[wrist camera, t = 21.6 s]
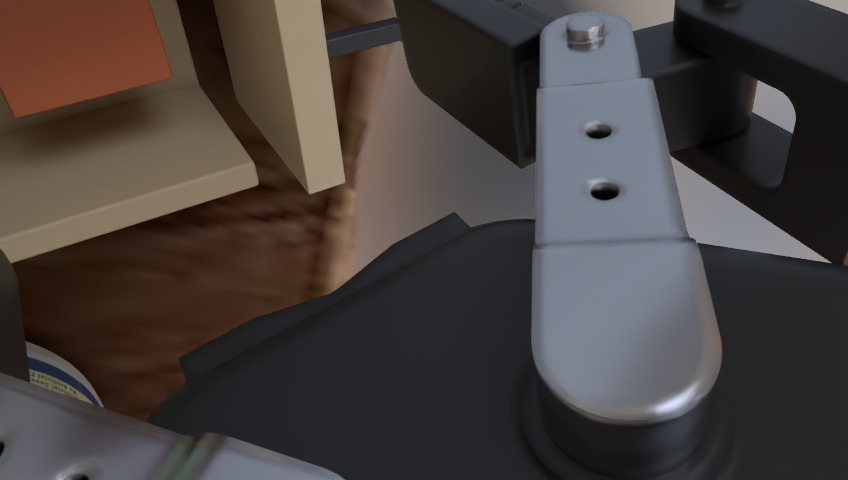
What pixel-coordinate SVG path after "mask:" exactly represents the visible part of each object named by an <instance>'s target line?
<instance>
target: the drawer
mask: <svg viewBox="0 0 848 480" xmlns="http://www.w3.org/2000/svg"><path fill="white" fill-rule="evenodd" d="M149 1H150V4H151V7H152V10H153V13H154V17H155V20H156V23H157V26H158V29H159V33H160V36H161V39H162V42H163V46H164V49H165V52H166V55H167V58H168V62H169V65H170V68H171V71H172V75H173V78H171V79H168V80H164V81H160V82H156V83H152V84H148V85H144V86H140V87H136V88H133V89H129V90H125V91H121V92H117V93H113V94H109V95H105V96H102V97H98V98H94V99H90V100H86V101H82V102H78V103H74V104H71V105H67V106H63V107H59V108H55V109H51V110H47V111H43V112H39V113H36V114H32V115H28V116H24V117H20V118H14V117H13V115H12V113H11V111H10V109H9V107H8V105H7V103H6V101H5V99H4V97H3V95H2V93H1V91H0V248H1V250H2V251H3V252H4V254H5V255H6V256H7V258H8V260H9V261H10V263H14V262H17V261H20V260H24V259H27V258H30V257H33V256H36V255H39V254H43V253H46V252H49V251H52V250H55V249H58V248H62V247H65V246H68V245H71V244H74V243H77V242H80V241H84V240H87V239H90V238H93V237H96V236H99V235H103V234H106V233H109V232H112V231H115V230H118V229H121V228H125V227H128V226H131V225H134V224H137V223H140V222H144V221H147V220H150V219H153V218H156V217H159V216H162V215H166V214H169V213H172V212H175V211H178V210H181V209H185V208H188V207H191V206H194V205H197V204H200V203H203V202H207V201H210V200H213V199H216V198H219V197H222V196H226V195H229V194H232V193H235V192H238V191H241V190H244V189H248V188H251V187H254V186H257V185H258V182H259V181H258V177H257V173H256V168H255V164H254V162H253V161H252V159H251V158H250V156H249V155H248V154H247V152H246V151H245V149H244V148H243V146H242V145H241V144H240V142H239V141H238V139H237V138H236V137H235V135H234V134H233V132H232V131H231V129H230V128H229V127H228V125H227V124H226V122H225V121H224V119H223V118H222V117H221V115H220V114H219V112H218V111H217V109H216V108H215V107H214V105H213V104H212V102H211V101H210V99H209V98H208V97H207V95H206V94H205V92H204V91H203V90H202V88H201V87H200V85H199V82H198V78H197V75H196V71H195V67H194V64H193V60H192V56H191V53H190V49H189V45H188V42H187V38H186V34H185V30H184V27H183V23H182V19H181V16H180V12H179V8H178V5H177V1H176V0H149ZM213 3H214V8H215V12H216V16H217V20H218V24H219V29H220V33H221V37H222V41H223V46H224V50H225V54H226V58H227V62H228V67H229V71H230V75H231V79H232V83H233V88H234V92H235V96H236V100H237V102H238V103H239V104H240V106H241V107H242V108H243V109H244V111H245V112H246V113H247V115H248V116H249V117H250V118H251V120H252V121H253V122H254V124H255V125H256V126H257V127H258V129H259V130H260V131H261V133H262V134H263V135H264V137H265V138H266V139H267V140H268V142H269V143H270V144H271V146H272V147H273V148H274V149H275V151H276V152H277V153H278V155H279V156H280V157H281V158H282V160H283V161H284V162H285V164H286V165H287V166H288V168H289V169H290V170H291V171H292V173H293V174H294V175H295V177H296V178H297V179H298V180H299V182H300V183H301V184H302V186H303V187H304V188H305V189H306V191H307V192H308V193H309V194H312V193H315V192H318V191H321V190H324V189H327V188H330V187H333V186H336V185H340V184H343V183H345V176H344V168H343V161H342V154H341V147H340V139H339V132H338V125H337V118H336V110H335V103H334V96H333V88H332V81H331V74H330V67H329V59H330V58H333V57H337V56H341V55H345V54H349V53H353V52H357V51H361V50H365V49H369V48H373V47H377V46H380V45H384V44H388V43H392V42H396V41H401V42H402V38H401V33H400V29H399V24H398V20H397V18H395V17H394V18H390V19H386V20H382V21H378V22H373V23H369V24H365V25H361V26H357V27H353V28H348V29H344V30H340V31H336V32H332V33H328V34H325V30H324V23H323V16H322V8H321V1H320V0H213Z"/></svg>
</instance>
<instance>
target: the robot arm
mask: <svg viewBox="0 0 848 480" xmlns="http://www.w3.org/2000/svg"><path fill="white" fill-rule="evenodd" d="M393 1H394V6H395V11H396V15H397V20H398V24H399V29H400V33H401V38H402V42H403V47H404V51H405V56H406V60H407V64H408V68H409V71H410V73H411V76H412V78H413V80H414V82H415V84H416V85H417V87H418V88H419V90H420V91H421V92H422V93H423V94H424V95H425V96H427V97H428V98H429V99H431V100H432V101H433V102H435V103H436V104H437V105H438V106H440V107H441V108H442V109H444V110H445V111H446V112H448V113H449V114H450V115H452V116H453V117H454V118H455V119H457V120H458V121H459V122H461V123H462V124H463V125H465V126H466V127H467V128H469V129H470V130H471V131H472V132H474V133H475V134H476V135H478V136H479V137H480V138H482V139H483V140H484V141H486V142H487V143H488V144H489V145H491V146H492V147H493V148H495V149H496V150H497V151H499V152H500V153H502V155H504V156H505V157H506V158H508V159H509V160H510V161H512V162H513V163H514V164H516V165H517V166H518V167H519V168H521V169H522V168H524V167H526V166H528V165H530V164H531V163H534V162H536V206H535V213H536V214H535V216H536V217H535V219H534V220H533V219H516V220H506V221H497V222H491V223H487V224H482V225H478V226H474V227H469V226H468V225H467V224H466V223H465V222H464V221H463V220H462V219H461V218H460V217H459V216H458V215H457V214H456V213H455V212H453V213H451V214H450V215H448V216H446V217H444V218H442V219H440V220H438V221H436V222H435V223H433V224H431V225H429V226H427V227H425V228H423V229H421V230H419V231H417V232H416V233H414V234H412V235H410V236H408V237H406V238H404V239H402V240H400V241H399V242H397V243H395V244H393V245H391V246H390V247H389V248H388V249H387V250H385V251H384V252H383V253H382V254H380V255H379V256H378V257H377V258H376V259H374V260H373V261H372V262H371V263H369V264H368V265H367V266H366V267H364V268H363V269H362V270H361V271H359V272H358V273H357V274H356V275H355V276H353V277H352V278H351V279H350V280H348V281H347V282H346V283H345V284H343V285H342V286H341V287H340V288H338V289H337V290H335V291H334V292H332V293H330V294H328V295H325V296H322V297H319V298H316V299H313V300H310V301H306V302H303V303H300V304H297V305H294V306H291V307H288V308H285V309H282V310H279V311H275V312H272V313H269V314H266V315H263V316H260V317H257V318H254V319H251V320H249V321H248V322H246V323H244V324H242V325H240V326H238V327H236V328H234V329H232V330H231V331H229V332H227V333H225V334H223V335H221V336H219V337H217V338H215V339H214V340H212V341H210V342H208V343H206V344H204V345H202V346H200V347H198V348H197V349H195V350H193V351H191V352H189V353H187V354H185V355H183V356H181V357H180V358H179V361H180V364H181V367H182V370H183V372H184V375H185V378H186V381H185V382H184V383H183V384H182V385H181V386H179V387H178V388H177V389H176V390H175V391H174V392H173V393H172V394H170V395H169V396H168V397H167V398H166V399H165V400H164V401H163V402H162V403H161V404H160V405H159V406H158V408H157V409H156V410H155V411H154V412H153V413H152V414H151V416H150V417H149V418H148V419H147V420H146V422H144V421H141V420H138V419H135V418H132V417H129V416H126V415H123V414H120V413H117V412H114V411H111V410H108V409H106V408H103V407H100V406H97V405H94V404H91V403H88V402H85V401H82V400H79V399H76V398H73V397H70V396H68V395H65V394H62V393H59V392H56V391H53V390H50V389H47V388H44V387H41V386H38V385H35V384H32V383H30V375H29V366H28V358H27V350H26V341H25V333H24V324H23V316H22V307H21V299H20V290H19V283H18V279H17V276H16V273H15V271H14V269H13V267H12V265H11V263H10V261H9V260H8V258H7V256H6V255H5V254H4V252H3V251H2V250H1V248H0V480H848V14H846V13H843V12H840V11H837V10H834V9H831V8H829V7H826V6H823V5H820V4H817V3H815V2H812V1H809V0H675V8H674V21H671V22H668V23H664V24H660V25H656V26H652V27H648V28H644V29H640V30H636V31H633V30H632V26H631V24H630V23H629V22H628V20H626V19H625V18H623V17H621V16H619V15H616V14H612V13H606V12H582V13H576V14H571V15H568V16H564V17H561V18H559V19H557V20H556V19H554V18H552V17H550V16H548V15H546V14H544V13H542V12H540V11H537V10H535V9H533V8H531V7H529V6H527V5H525V4H524V5H521V2H518V1H516V0H393ZM758 80H759V81H762V82H763V83H765V84H767V85H770V86H772V87H774V88H776V89H778V90H780V91H781V92H783V93H784V94H785V95H786V96H787V97H788V98H789V99H790V101H791V102H792V104H793V106H794V109H795V113H796V122H795V127H794V131H793V134H792V133H790V132H789V131H787V130H785V129H783V128H781V127H779V126H777V125H775V124H774V123H772V122H770V121H768V120H766V119H764V118H762V117H760V116H758V115H757V114H755V113H753V112H752V109H753V104H754V98H755V92H756V87H757V81H758ZM670 155H671V156H672V157H673V158H675V159H676V160H678V161H680V162H681V163H683V164H684V165H685V166H687V167H688V168H690V169H691V170H693V171H694V172H696V173H697V174H699V175H700V176H702V177H703V178H705V179H706V180H708V181H710V182H711V183H712V184H714V185H716V186H717V187H718V188H720V189H721V190H723V191H724V192H726V193H727V194H729V195H730V196H732V197H734V198H735V199H736V200H738V201H739V202H741V203H743V204H744V205H746V206H747V207H749V208H750V209H752V210H753V211H755V212H756V213H758V214H759V215H761V216H762V217H764V218H765V219H767V220H768V221H770V222H771V223H773V224H774V225H776V226H777V227H779V228H780V229H782V230H783V231H785V232H786V233H788V234H789V235H791V236H792V237H794V238H795V239H797V240H798V241H800V242H801V243H803V244H804V245H806V246H807V247H809V248H810V249H812V250H813V251H815V252H817V253H818V254H819V255H821V256H822V257H824V258H825V259H827V260H829V261H830V262H831V263H826V262H820V261H813V260H807V259H800V258H793V257H787V256H780V255H773V254H767V253H760V252H753V251H747V250H741V249H734V248H728V247H721V246H714V245H707V244H701V243H696V241H695V240H694V239H693V238H690V237H689V235H688V232H687V228H686V224H685V220H684V215H683V211H682V207H681V202H680V197H679V193H678V188H677V184H676V180H675V175H674V171H673V166H672V162H671V157H670Z"/></svg>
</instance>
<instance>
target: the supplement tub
mask: <svg viewBox="0 0 848 480" xmlns="http://www.w3.org/2000/svg"><path fill="white" fill-rule="evenodd" d="M26 350H27V358H28V366H29V375H30V383H32V384H35V385H38V386H41V387H44V388H47V389H50V390H53V391H56V392H59V393H62V394H65V395H68V396H70V397H73V398H76V399H79V400H82V401H85V402H88V403H91V404H94V405H97V406H100V407H103V405H102V403H101V400H100V399H99V397H98V395H97V394H96V392H95V390H94V389H93V387H92V386H91V384H90V383H89V381H88V380H87V379H86V378H85V377H84V376H83V375H82V374H81V373H80V372H79V371H78V370H77V369H76V368H75V367H74V366H72V365H71V364H70V363H69V362H67V361H66V360H64V359H63V358H61V357H59V356H58V355H56V354H54V353H52V352H51V351H48V350H46V349H44V348H42V347H40V346H37V345H35V344H32V343H30V342H27V341H26ZM103 408H104V407H103Z"/></svg>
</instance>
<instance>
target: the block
mask: <svg viewBox="0 0 848 480" xmlns="http://www.w3.org/2000/svg"><path fill="white" fill-rule="evenodd" d="M171 78H173V75H172V71H171V68H170V65H169V62H168V58H167V55H166V52H165V49H164V46H163V42H162V39H161V36H160V33H159V29H158V26H157V23H156V20H155V17H154V13H153V10H152V7H151V4H150V1H149V0H0V91H1V93H2V95H3V97H4V99H5V101H6V103H7V105H8V107H9V109H10V111H11V113H12V115H13V117H14V118H20V117H24V116H28V115H32V114H36V113H39V112H43V111H47V110H51V109H55V108H59V107H63V106H67V105H71V104H74V103H78V102H82V101H86V100H90V99H94V98H98V97H102V96H105V95H109V94H113V93H117V92H121V91H125V90H129V89H133V88H136V87H140V86H144V85H148V84H152V83H156V82H160V81H164V80H168V79H171Z"/></svg>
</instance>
